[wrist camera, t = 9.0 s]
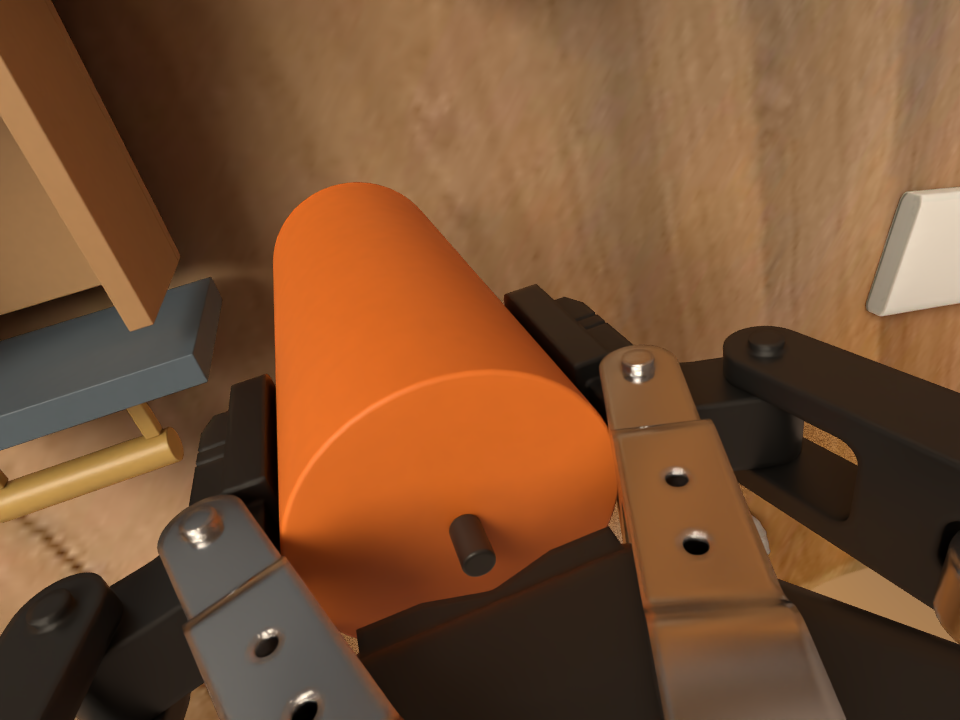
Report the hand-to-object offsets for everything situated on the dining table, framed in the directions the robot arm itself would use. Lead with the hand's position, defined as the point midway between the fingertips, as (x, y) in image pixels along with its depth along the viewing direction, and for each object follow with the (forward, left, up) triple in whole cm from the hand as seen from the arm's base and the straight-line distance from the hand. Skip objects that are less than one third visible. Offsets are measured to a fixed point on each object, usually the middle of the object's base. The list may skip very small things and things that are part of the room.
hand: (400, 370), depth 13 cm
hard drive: (+39, -15, -18) cm, 45 cm away
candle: (0, 0, -7) cm, 7 cm away
